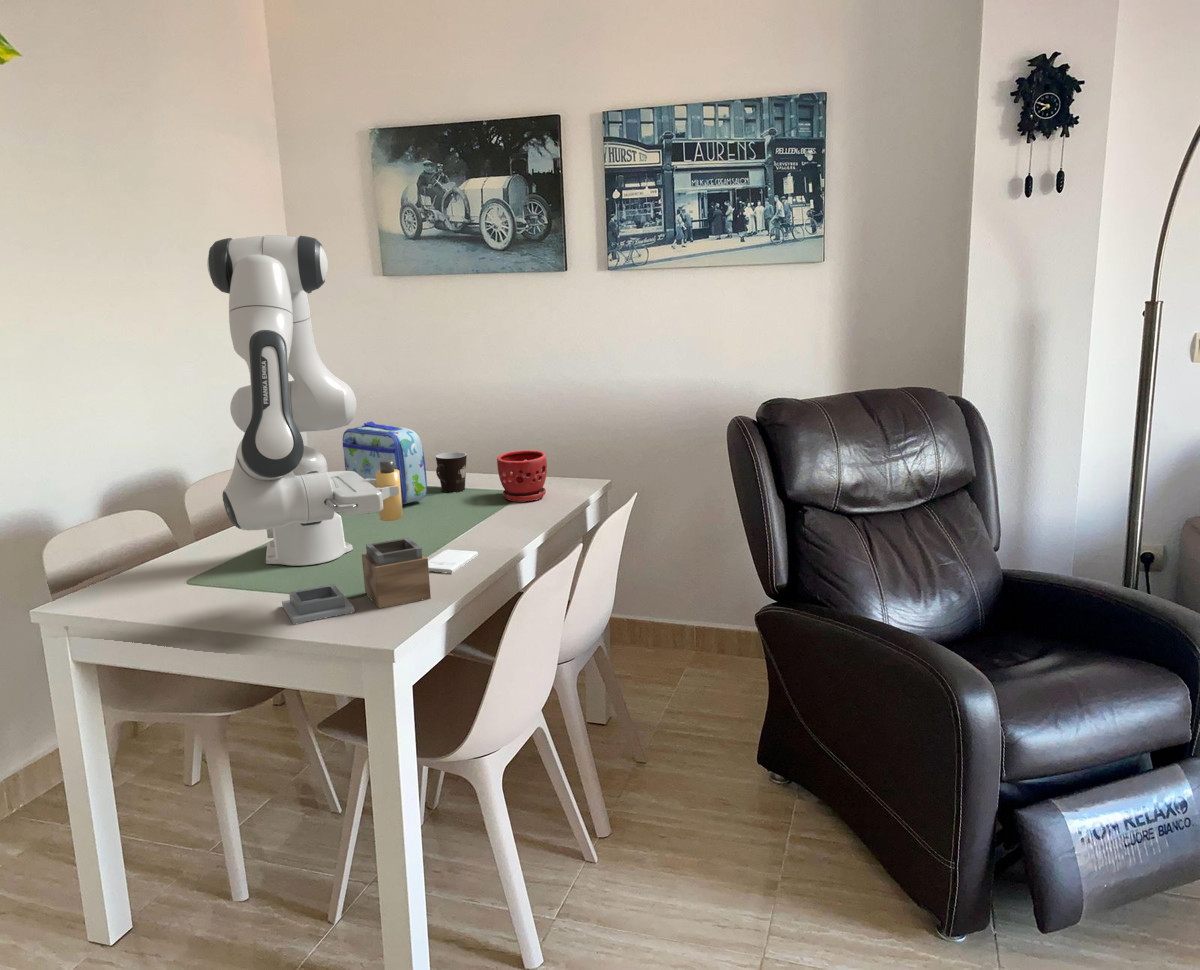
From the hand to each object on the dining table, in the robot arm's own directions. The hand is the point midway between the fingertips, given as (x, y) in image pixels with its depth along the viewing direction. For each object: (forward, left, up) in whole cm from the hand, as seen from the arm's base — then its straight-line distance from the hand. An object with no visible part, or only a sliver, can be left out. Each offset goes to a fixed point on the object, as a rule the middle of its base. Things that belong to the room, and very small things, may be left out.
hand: (393, 486), depth 183 cm
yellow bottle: (0, -1, -6) cm, 6 cm away
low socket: (-1, -16, -22) cm, 27 cm away
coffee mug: (-77, +37, -22) cm, 88 cm away
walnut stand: (0, -1, -22) cm, 22 cm away
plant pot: (-57, +51, -22) cm, 79 cm away
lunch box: (-77, +19, -22) cm, 82 cm away
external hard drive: (-14, +14, -23) cm, 30 cm away
